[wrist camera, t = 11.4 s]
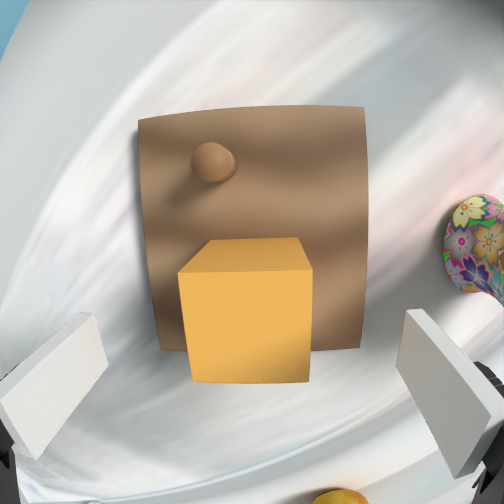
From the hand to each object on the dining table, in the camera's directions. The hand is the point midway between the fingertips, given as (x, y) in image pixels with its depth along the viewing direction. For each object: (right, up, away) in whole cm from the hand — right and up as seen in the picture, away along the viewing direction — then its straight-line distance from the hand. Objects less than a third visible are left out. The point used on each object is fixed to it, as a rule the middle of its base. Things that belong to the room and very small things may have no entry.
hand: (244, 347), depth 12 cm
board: (0, +5, +11) cm, 12 cm away
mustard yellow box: (0, +2, +10) cm, 10 cm away
